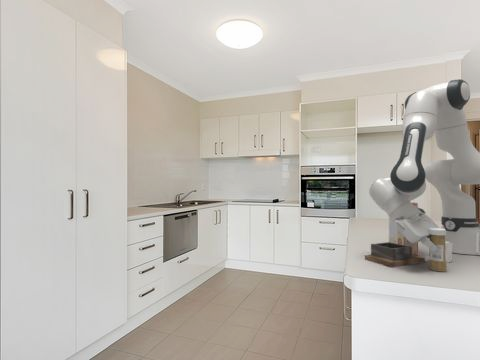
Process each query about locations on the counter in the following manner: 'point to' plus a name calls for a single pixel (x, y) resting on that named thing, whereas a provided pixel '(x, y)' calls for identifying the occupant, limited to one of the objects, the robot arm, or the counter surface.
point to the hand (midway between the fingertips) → (439, 249)
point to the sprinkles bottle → (439, 255)
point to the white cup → (448, 251)
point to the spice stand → (392, 255)
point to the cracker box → (401, 236)
